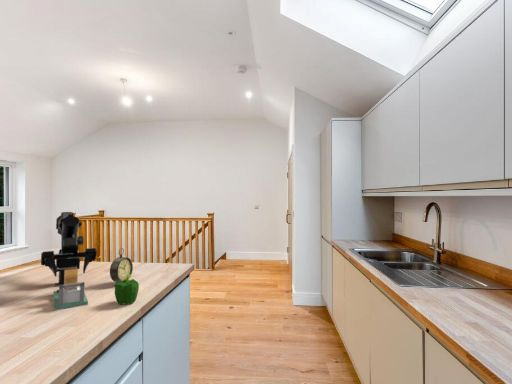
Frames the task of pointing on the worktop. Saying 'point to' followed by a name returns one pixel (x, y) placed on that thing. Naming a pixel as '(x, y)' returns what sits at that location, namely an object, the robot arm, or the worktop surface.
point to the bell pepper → (126, 291)
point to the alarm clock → (121, 268)
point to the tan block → (71, 278)
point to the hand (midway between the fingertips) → (70, 274)
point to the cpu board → (67, 305)
